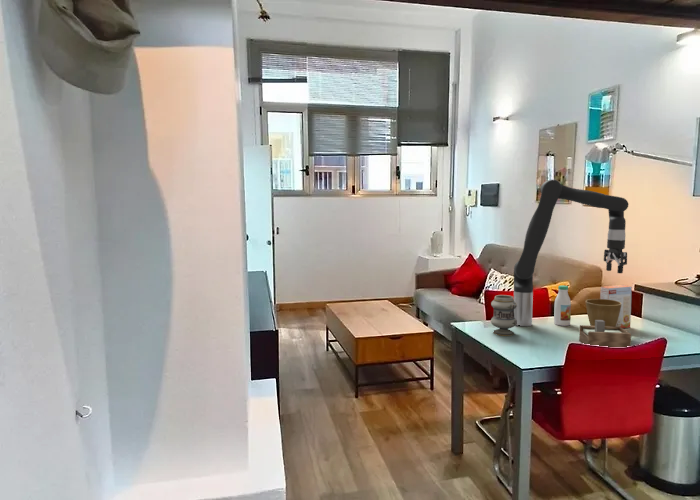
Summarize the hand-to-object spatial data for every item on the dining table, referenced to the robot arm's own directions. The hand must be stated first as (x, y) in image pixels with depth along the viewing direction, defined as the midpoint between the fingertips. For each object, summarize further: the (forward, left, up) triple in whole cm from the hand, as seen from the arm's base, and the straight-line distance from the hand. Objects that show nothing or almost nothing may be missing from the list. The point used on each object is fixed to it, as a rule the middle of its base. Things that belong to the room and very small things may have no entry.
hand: (614, 272), depth 232 cm
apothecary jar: (-53, -15, -29) cm, 63 cm away
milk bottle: (-21, +7, -29) cm, 36 cm away
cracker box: (+3, +4, -29) cm, 29 cm away
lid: (-13, -30, -24) cm, 41 cm away
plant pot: (-8, -12, -29) cm, 32 cm away
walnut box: (-13, -30, -29) cm, 44 cm away
